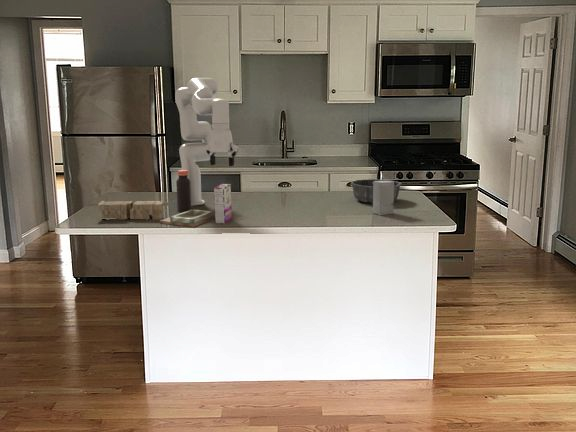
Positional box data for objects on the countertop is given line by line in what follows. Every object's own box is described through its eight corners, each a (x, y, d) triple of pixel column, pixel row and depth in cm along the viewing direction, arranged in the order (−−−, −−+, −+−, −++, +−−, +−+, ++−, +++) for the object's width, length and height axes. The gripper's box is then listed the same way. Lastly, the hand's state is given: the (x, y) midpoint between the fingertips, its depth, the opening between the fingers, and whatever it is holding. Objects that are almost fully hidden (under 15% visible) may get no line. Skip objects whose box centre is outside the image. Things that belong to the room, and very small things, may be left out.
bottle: (185, 212, 307) (183, 172, 302) (174, 210, 310) (172, 170, 306) (194, 209, 312) (192, 170, 308) (183, 208, 316) (182, 169, 312)
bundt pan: (370, 194, 352) (371, 176, 350) (410, 200, 334) (411, 182, 331) (340, 201, 334) (340, 182, 331) (380, 208, 315) (381, 188, 313)
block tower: (164, 218, 300) (102, 217, 298) (163, 200, 298) (101, 199, 296) (161, 221, 292) (98, 220, 290) (161, 204, 290) (97, 202, 288)
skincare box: (380, 215, 298) (381, 182, 294) (371, 212, 304) (372, 180, 300) (394, 213, 301) (395, 181, 298) (385, 211, 308) (386, 179, 304)
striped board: (159, 223, 284) (159, 216, 283) (185, 214, 302) (184, 208, 301) (193, 227, 277) (192, 219, 276) (217, 217, 294) (216, 211, 293)
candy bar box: (222, 218, 294) (221, 183, 290) (232, 218, 293) (231, 184, 289) (214, 223, 283) (213, 187, 280) (225, 223, 282) (224, 188, 279)
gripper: (200, 127, 279) (201, 165, 283) (233, 128, 272) (234, 167, 275) (209, 126, 286) (210, 163, 289) (242, 127, 278) (242, 165, 282)
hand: (222, 165), depth 282 cm, fingers open, 9 cm apart
